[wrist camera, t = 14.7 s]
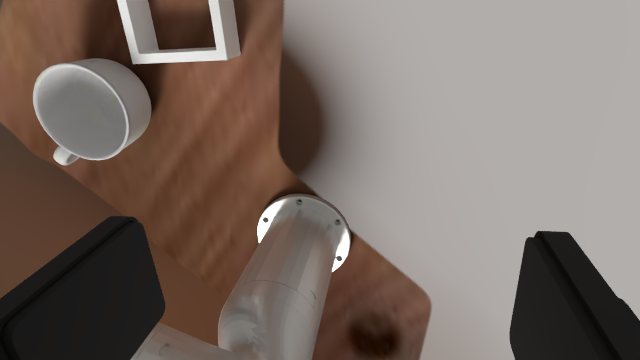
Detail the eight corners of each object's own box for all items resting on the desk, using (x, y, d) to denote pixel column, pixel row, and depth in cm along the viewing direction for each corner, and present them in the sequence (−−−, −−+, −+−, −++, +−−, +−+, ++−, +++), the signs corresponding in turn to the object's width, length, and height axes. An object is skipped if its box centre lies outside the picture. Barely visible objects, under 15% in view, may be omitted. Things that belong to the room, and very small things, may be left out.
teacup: (117, 34, 46) (65, 40, 39) (181, 107, 48) (144, 126, 41) (57, 104, 51) (2, 121, 44) (117, 167, 54) (75, 192, 47)
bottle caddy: (240, 55, 44) (227, 59, 41) (153, 59, 46) (132, 64, 43) (225, -58, 40) (208, -63, 36) (128, -48, 42) (104, -52, 38)
